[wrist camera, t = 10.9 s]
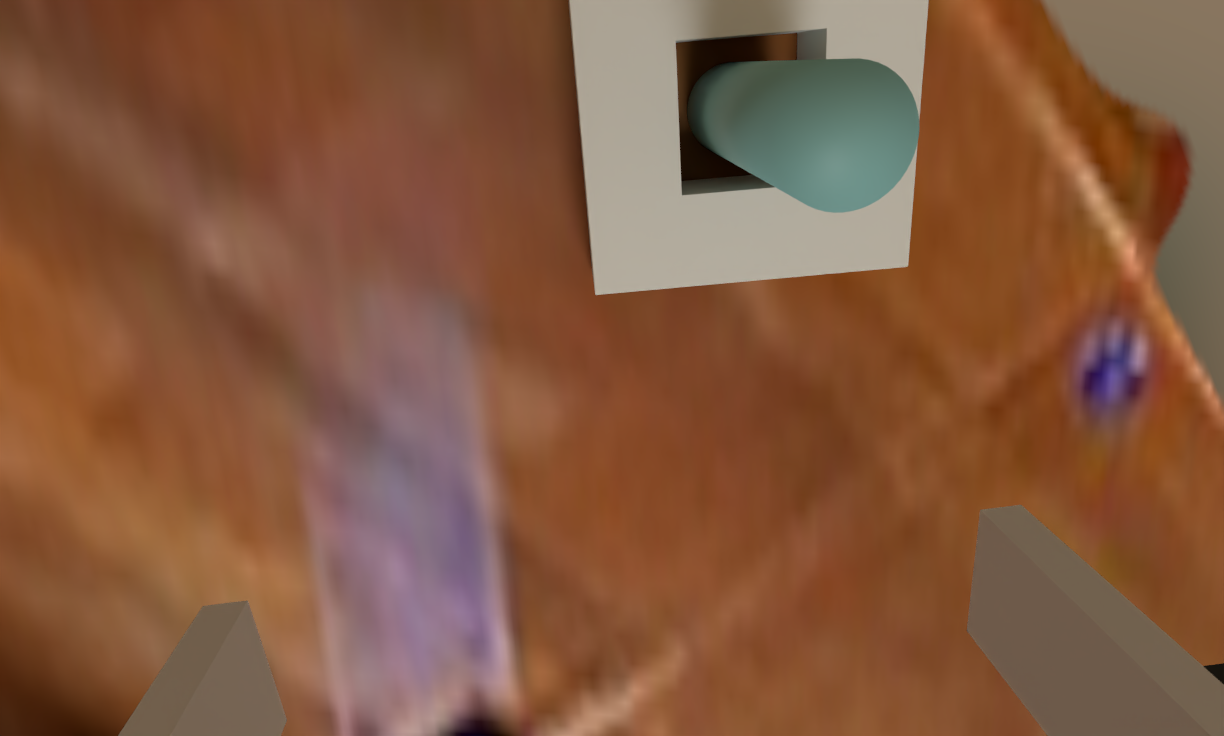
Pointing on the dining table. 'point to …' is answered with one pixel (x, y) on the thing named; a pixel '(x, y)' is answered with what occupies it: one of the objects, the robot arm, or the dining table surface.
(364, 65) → the dining table surface
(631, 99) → the socket block
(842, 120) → the peg
